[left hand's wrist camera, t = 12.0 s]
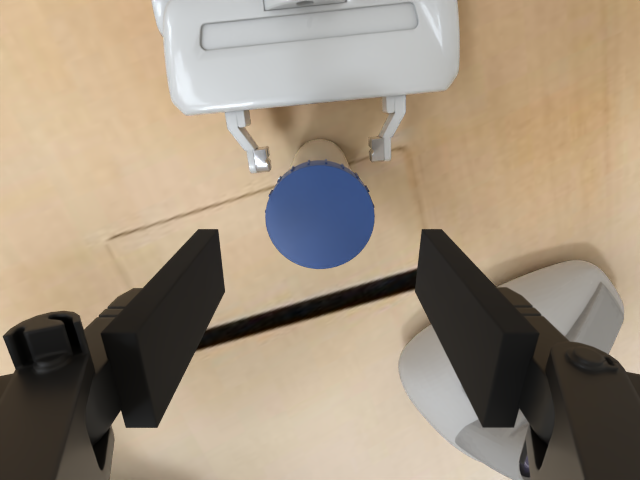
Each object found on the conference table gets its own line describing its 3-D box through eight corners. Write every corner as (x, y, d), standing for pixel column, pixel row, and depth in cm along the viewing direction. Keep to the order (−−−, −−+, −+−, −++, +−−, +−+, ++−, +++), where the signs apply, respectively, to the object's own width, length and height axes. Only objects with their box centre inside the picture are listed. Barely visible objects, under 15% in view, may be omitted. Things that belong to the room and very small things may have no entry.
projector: (562, 413, 46) (666, 547, 32) (384, 411, 45) (411, 544, 32) (619, 255, 37) (790, 343, 24) (401, 251, 37) (449, 338, 24)
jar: (283, 174, 35) (255, 230, 20) (312, 127, 33) (305, 150, 18) (327, 202, 36) (332, 276, 21) (357, 158, 34) (386, 204, 19)
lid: (249, 224, 21) (244, 235, 19) (304, 137, 19) (302, 140, 17) (333, 274, 22) (334, 287, 20) (392, 196, 20) (398, 204, 19)
